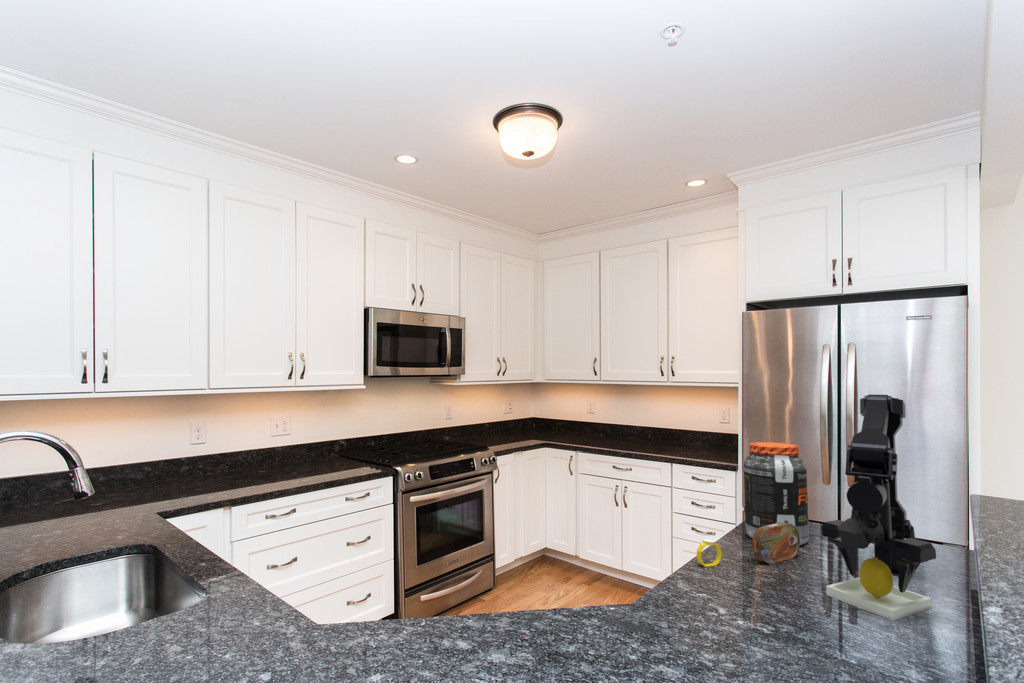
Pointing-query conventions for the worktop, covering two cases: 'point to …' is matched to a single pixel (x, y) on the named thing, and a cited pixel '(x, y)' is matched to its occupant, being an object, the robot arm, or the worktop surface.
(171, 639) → the worktop surface
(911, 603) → the tray
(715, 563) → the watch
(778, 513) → the supplement tub
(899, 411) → the robot arm
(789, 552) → the tin
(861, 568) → the lemon
